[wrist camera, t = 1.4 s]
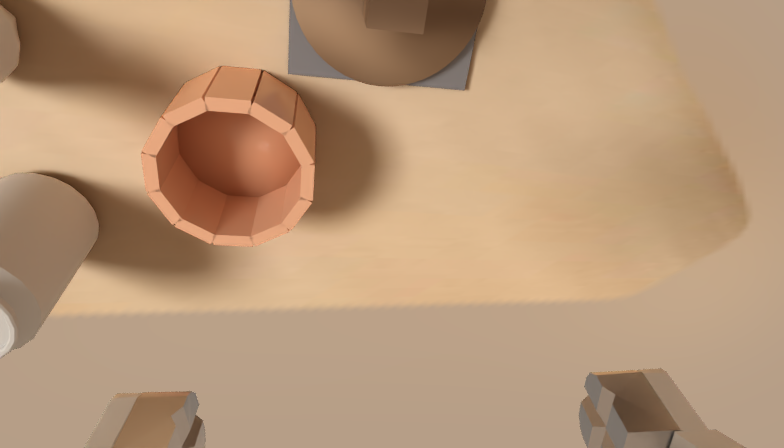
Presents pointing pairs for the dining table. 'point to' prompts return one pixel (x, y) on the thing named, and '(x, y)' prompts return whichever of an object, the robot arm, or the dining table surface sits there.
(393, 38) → the lid
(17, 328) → the can
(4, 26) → the salt shaker
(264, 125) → the bowl
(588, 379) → the robot arm
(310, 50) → the mat
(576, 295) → the dining table surface
